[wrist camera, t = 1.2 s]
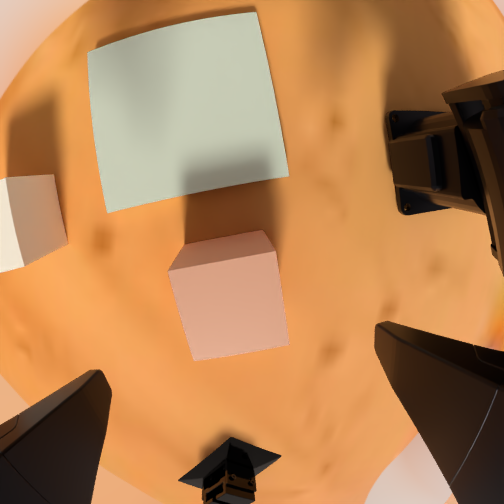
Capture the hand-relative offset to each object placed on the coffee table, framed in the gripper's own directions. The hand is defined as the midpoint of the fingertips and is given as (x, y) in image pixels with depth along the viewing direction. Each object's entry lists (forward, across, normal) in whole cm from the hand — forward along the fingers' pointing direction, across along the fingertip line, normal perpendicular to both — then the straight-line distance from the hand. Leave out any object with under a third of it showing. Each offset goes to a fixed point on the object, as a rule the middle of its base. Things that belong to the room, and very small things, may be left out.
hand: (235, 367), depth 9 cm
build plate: (+9, +1, -10) cm, 14 cm away
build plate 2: (+10, +4, +19) cm, 22 cm away
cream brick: (+9, +12, -6) cm, 16 cm away
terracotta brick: (+9, 0, 0) cm, 9 cm away
